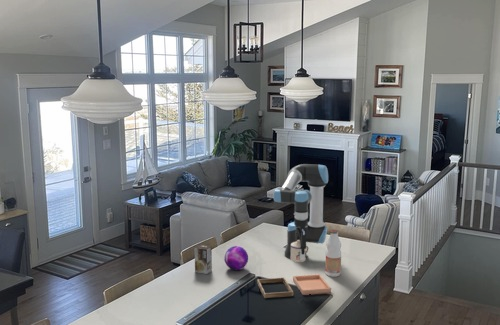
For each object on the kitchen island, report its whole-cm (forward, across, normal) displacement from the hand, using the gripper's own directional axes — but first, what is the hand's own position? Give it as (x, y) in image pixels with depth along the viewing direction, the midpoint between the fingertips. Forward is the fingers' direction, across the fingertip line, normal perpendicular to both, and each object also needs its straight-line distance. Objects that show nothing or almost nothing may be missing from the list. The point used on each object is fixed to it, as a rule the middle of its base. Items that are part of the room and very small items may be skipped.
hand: (300, 256), depth 289 cm
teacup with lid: (+2, -1, 0) cm, 2 cm away
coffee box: (+19, -32, -54) cm, 66 cm away
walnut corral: (+19, +1, -15) cm, 24 cm away
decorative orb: (+19, -33, -33) cm, 50 cm away
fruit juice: (+19, -16, +26) cm, 36 cm away
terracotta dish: (+19, 0, +7) cm, 20 cm away
